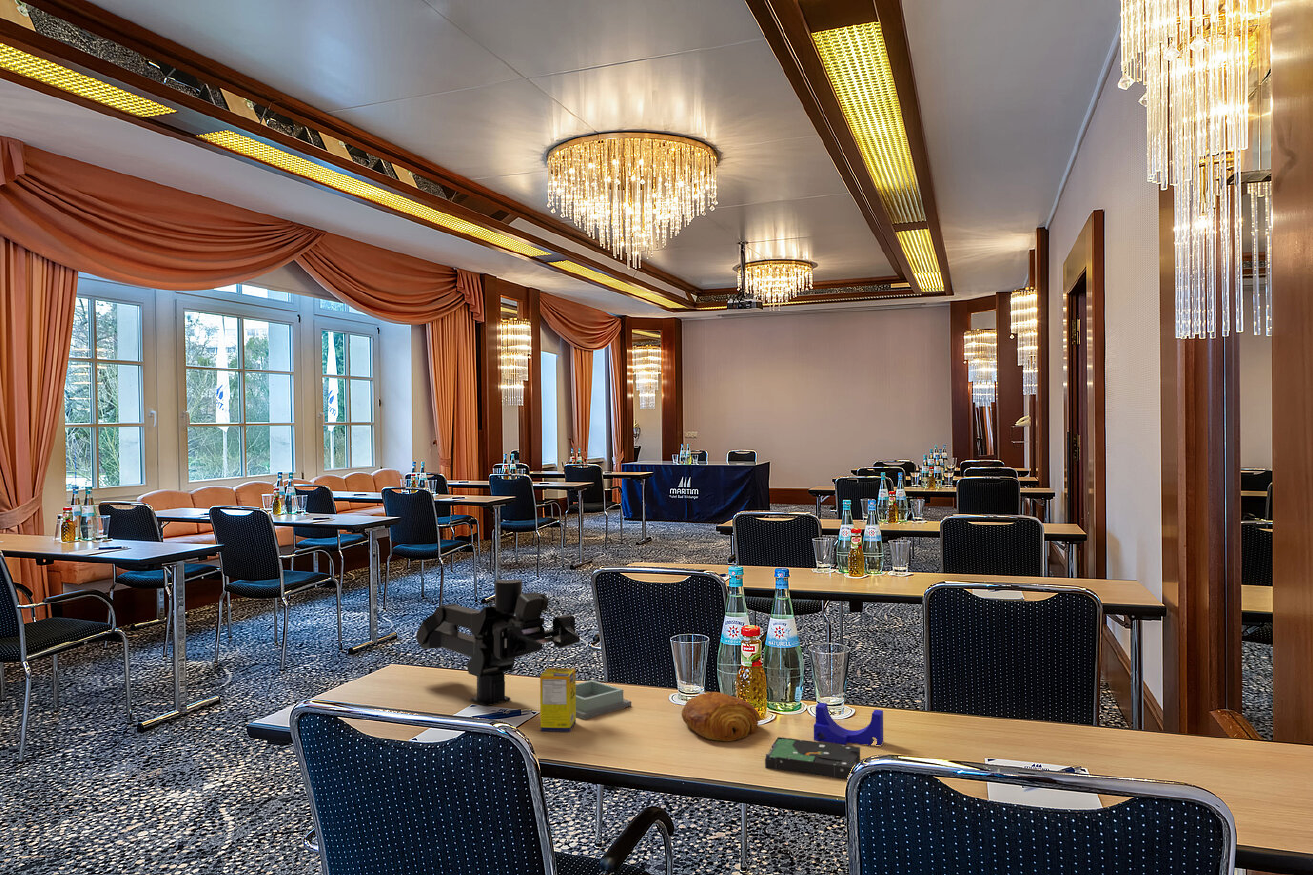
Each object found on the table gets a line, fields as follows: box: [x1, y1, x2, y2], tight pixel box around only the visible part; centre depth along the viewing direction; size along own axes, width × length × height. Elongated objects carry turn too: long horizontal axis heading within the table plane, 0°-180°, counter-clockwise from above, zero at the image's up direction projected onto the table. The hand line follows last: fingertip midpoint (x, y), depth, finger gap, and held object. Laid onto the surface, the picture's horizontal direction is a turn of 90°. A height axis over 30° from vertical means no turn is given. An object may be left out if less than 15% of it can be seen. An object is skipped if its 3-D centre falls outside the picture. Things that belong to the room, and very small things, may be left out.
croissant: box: [681, 691, 761, 742], centre depth 159 cm, size 14×16×8 cm
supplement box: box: [539, 667, 577, 733], centre depth 160 cm, size 6×6×11 cm
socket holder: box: [576, 679, 632, 720], centre depth 174 cm, size 13×13×4 cm
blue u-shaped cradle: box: [813, 702, 884, 746], centre depth 152 cm, size 12×4×6 cm, turn 65°
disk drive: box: [764, 736, 861, 781], centre depth 141 cm, size 10×3×15 cm
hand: (560, 643), depth 160 cm, fingers open, 9 cm apart
